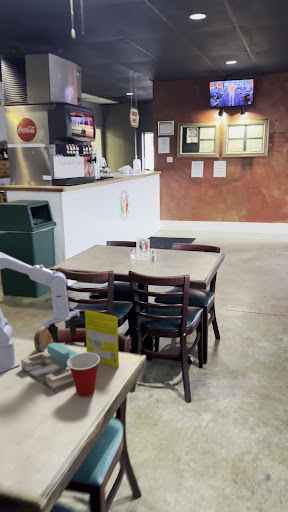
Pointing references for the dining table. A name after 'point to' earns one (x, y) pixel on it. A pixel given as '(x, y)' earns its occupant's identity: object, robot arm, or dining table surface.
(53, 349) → the slat
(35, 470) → the dining table surface
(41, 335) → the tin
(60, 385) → the cradle
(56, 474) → the dining table surface
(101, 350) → the food package
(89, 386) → the plastic cup
